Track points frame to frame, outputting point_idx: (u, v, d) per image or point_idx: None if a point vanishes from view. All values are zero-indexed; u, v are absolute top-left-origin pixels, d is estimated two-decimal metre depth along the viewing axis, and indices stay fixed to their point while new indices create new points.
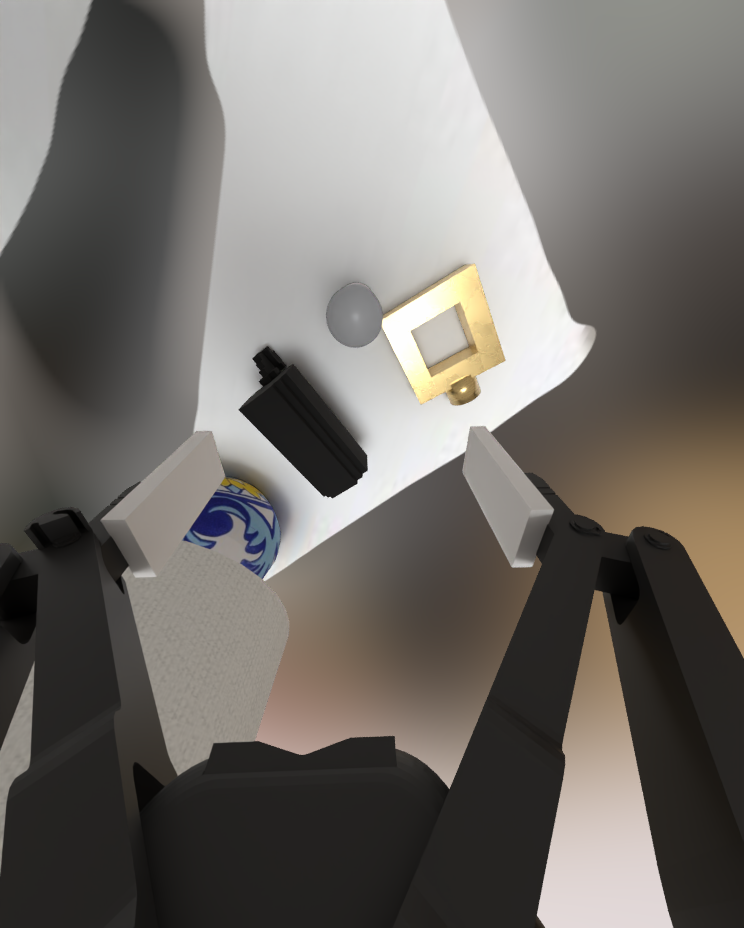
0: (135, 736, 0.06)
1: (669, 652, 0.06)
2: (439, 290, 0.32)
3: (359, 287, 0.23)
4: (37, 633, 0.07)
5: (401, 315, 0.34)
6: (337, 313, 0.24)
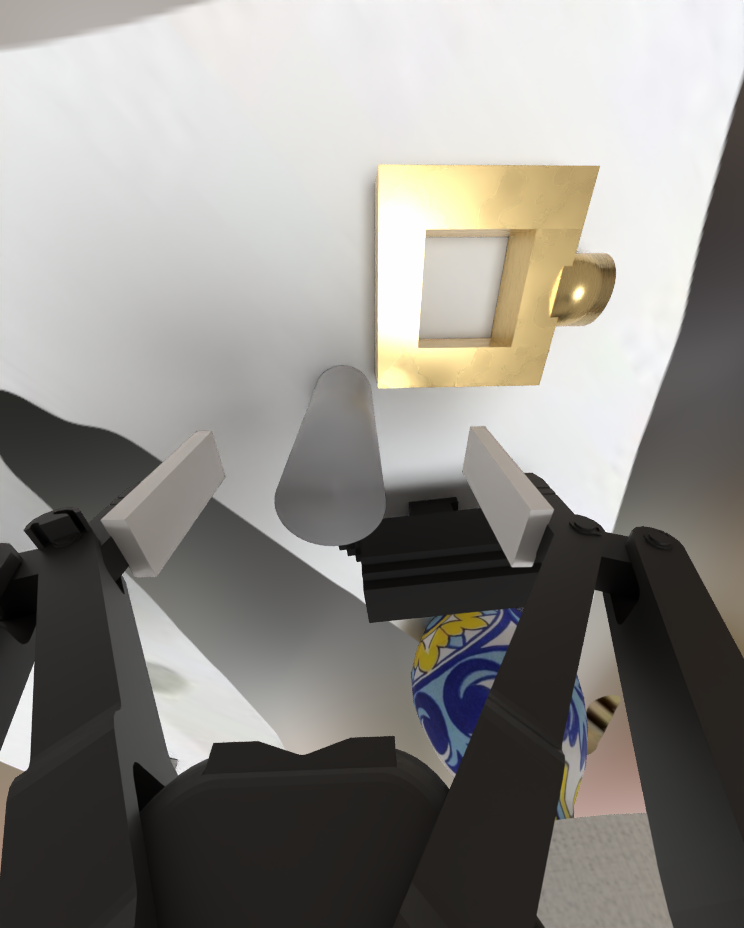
0: (136, 735, 0.06)
1: (669, 652, 0.06)
2: (386, 266, 0.17)
3: (285, 478, 0.12)
4: (37, 633, 0.07)
5: (387, 351, 0.19)
6: (310, 525, 0.13)
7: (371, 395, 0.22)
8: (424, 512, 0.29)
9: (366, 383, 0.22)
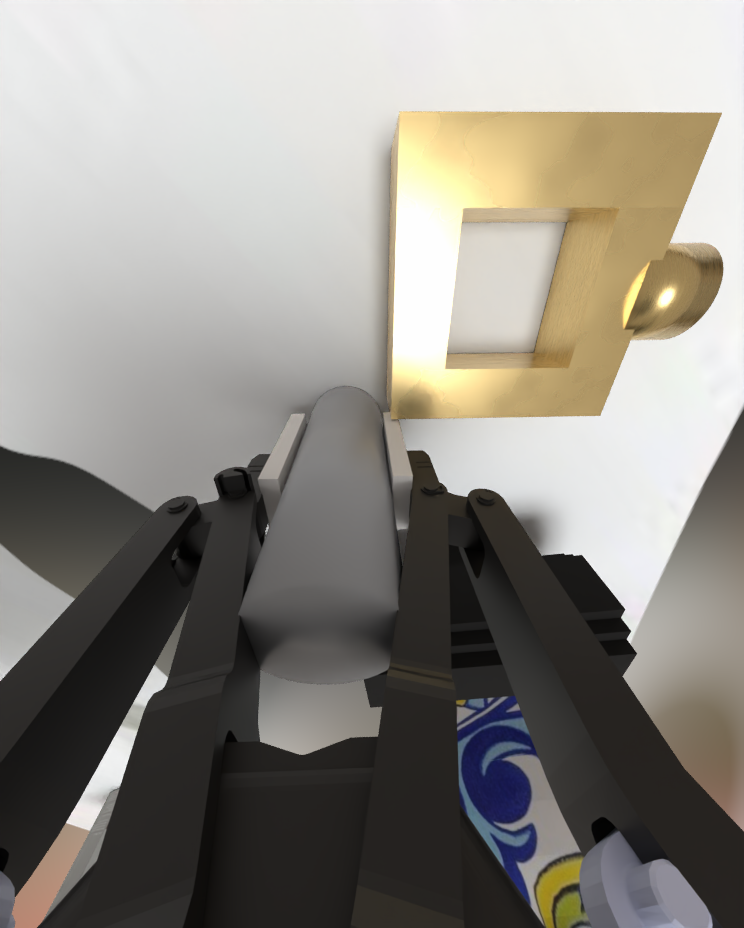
0: (236, 701, 0.06)
1: (513, 594, 0.08)
2: (406, 260, 0.12)
3: (246, 610, 0.07)
4: (200, 567, 0.08)
5: (405, 372, 0.15)
6: (291, 662, 0.08)
7: (382, 425, 0.17)
8: None
9: (375, 410, 0.18)
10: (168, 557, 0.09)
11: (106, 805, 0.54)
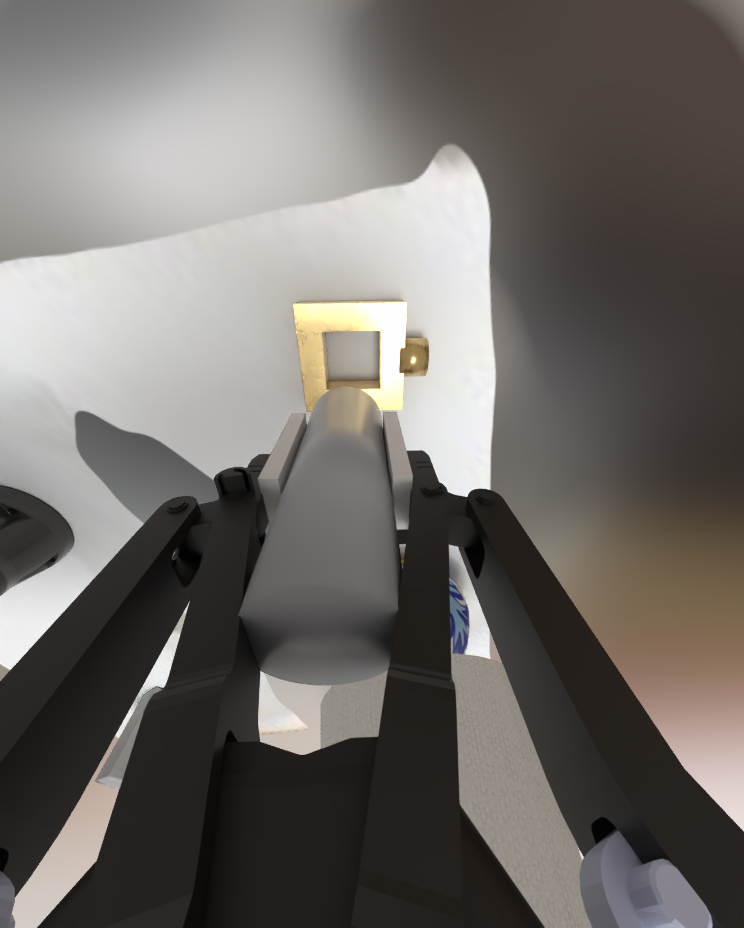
0: (236, 700, 0.06)
1: (513, 594, 0.08)
2: (303, 348, 0.32)
3: (246, 611, 0.07)
4: (200, 567, 0.08)
5: (309, 391, 0.34)
6: (291, 664, 0.08)
7: None
8: None
9: (375, 410, 0.18)
10: (168, 557, 0.09)
11: (141, 701, 0.73)
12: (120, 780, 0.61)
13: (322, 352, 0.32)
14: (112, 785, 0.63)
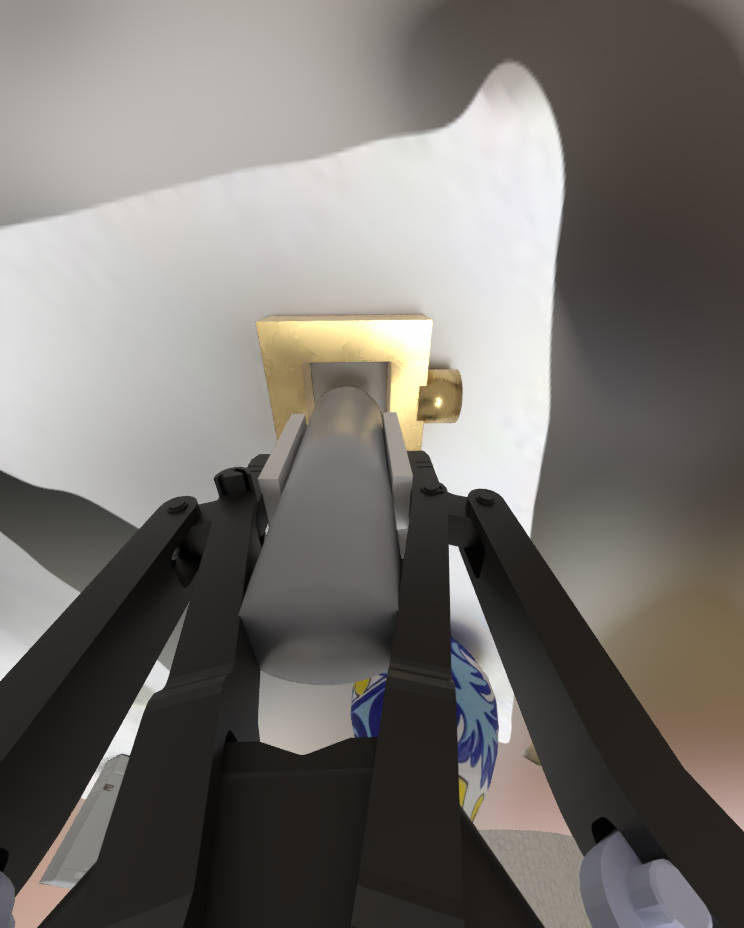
0: (236, 700, 0.06)
1: (513, 594, 0.08)
2: (274, 387, 0.21)
3: (246, 610, 0.07)
4: (200, 567, 0.08)
5: None
6: (291, 663, 0.08)
7: None
8: None
9: (375, 410, 0.18)
10: (168, 557, 0.09)
11: (103, 772, 0.62)
12: (69, 883, 0.51)
13: (303, 392, 0.21)
14: (60, 886, 0.52)
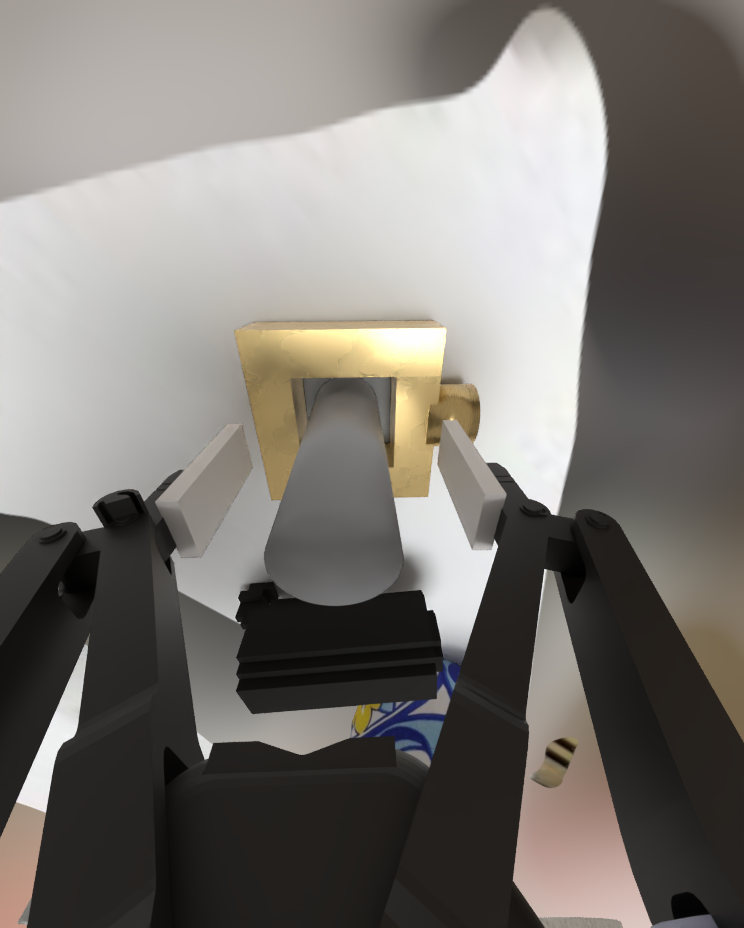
0: (168, 719, 0.06)
1: (615, 626, 0.07)
2: (258, 406, 0.18)
3: (276, 533, 0.09)
4: (94, 605, 0.07)
5: (274, 471, 0.20)
6: (308, 583, 0.10)
7: (378, 409, 0.20)
8: None
9: (372, 396, 0.20)
10: (53, 588, 0.08)
11: None
12: None
13: (293, 412, 0.18)
14: None
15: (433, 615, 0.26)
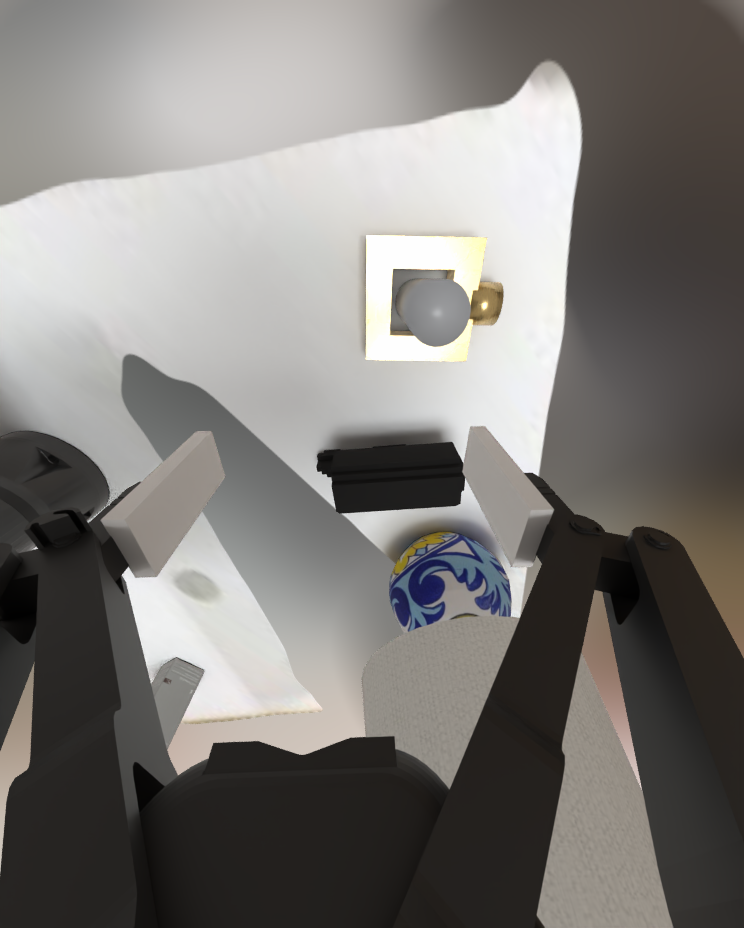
0: (135, 736, 0.06)
1: (669, 652, 0.06)
2: (370, 287, 0.30)
3: (418, 292, 0.21)
4: (37, 633, 0.07)
5: (371, 336, 0.33)
6: (425, 328, 0.22)
7: None
8: None
9: None
10: None
11: (160, 672, 0.72)
12: None
13: (390, 292, 0.30)
14: None
15: None
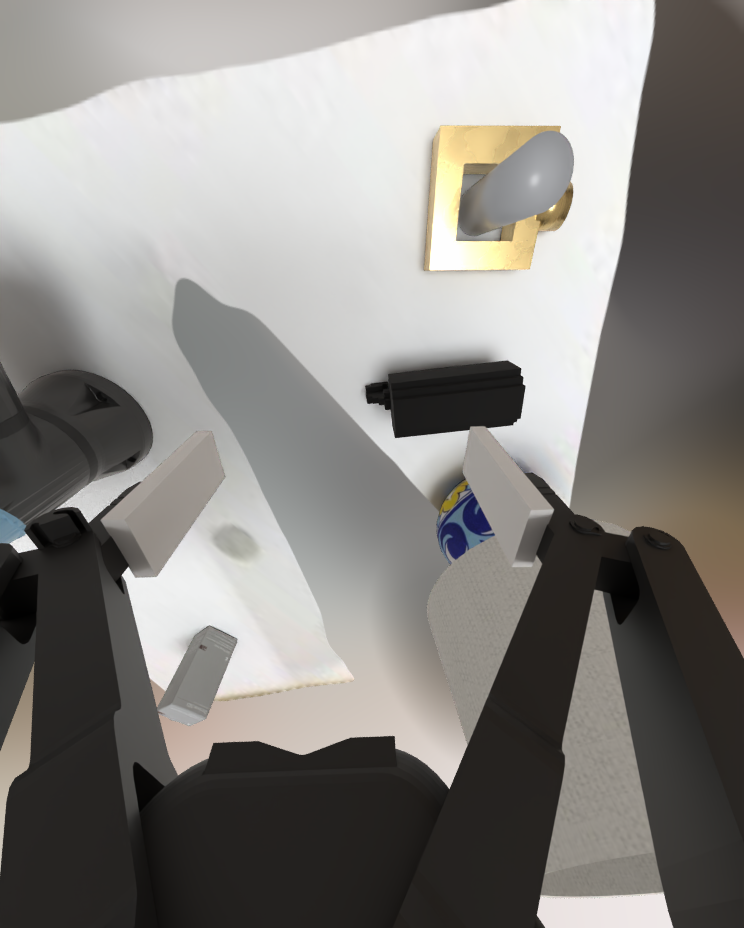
0: (135, 736, 0.06)
1: (669, 652, 0.06)
2: (440, 186, 0.30)
3: (523, 147, 0.21)
4: (37, 633, 0.07)
5: (437, 243, 0.32)
6: (525, 192, 0.22)
7: None
8: None
9: None
10: None
11: (194, 640, 0.71)
12: (182, 710, 0.59)
13: (460, 191, 0.30)
14: (172, 716, 0.61)
15: None
